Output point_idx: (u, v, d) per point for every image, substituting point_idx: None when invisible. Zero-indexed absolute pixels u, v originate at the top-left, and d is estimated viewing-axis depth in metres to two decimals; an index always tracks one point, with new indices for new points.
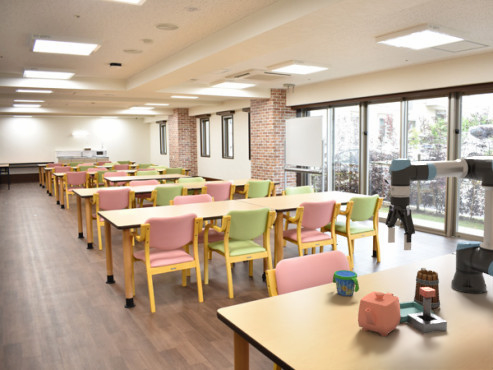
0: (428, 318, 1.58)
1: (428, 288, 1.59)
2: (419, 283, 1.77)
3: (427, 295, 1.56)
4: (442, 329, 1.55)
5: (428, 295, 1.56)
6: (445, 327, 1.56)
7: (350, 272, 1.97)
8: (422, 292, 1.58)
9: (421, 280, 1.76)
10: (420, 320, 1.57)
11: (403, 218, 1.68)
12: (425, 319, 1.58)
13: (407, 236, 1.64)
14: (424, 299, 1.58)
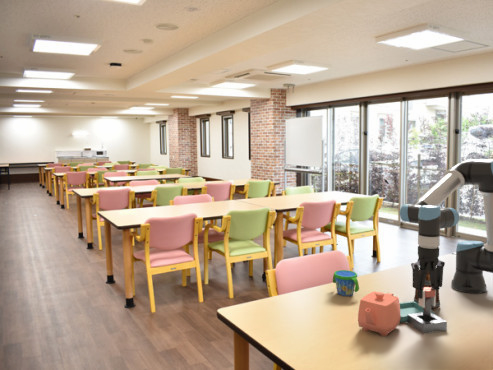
0: (428, 318, 1.58)
1: (428, 288, 1.59)
2: None
3: (426, 295, 1.56)
4: (442, 329, 1.55)
5: (428, 295, 1.56)
6: (445, 327, 1.56)
7: (350, 272, 1.97)
8: None
9: None
10: (420, 320, 1.57)
11: (421, 271, 1.57)
12: (425, 319, 1.58)
13: None
14: None
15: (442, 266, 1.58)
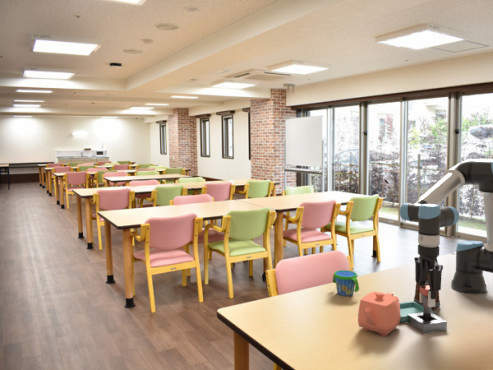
0: None
1: (425, 287, 1.59)
2: None
3: None
4: (442, 329, 1.55)
5: None
6: (445, 327, 1.56)
7: (350, 272, 1.97)
8: None
9: None
10: (420, 320, 1.57)
11: (431, 272, 1.55)
12: (430, 317, 1.58)
13: (432, 292, 1.55)
14: None
15: None
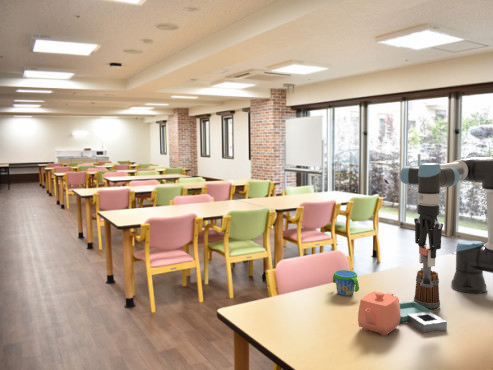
0: None
1: (425, 247, 1.58)
2: (419, 283, 1.77)
3: None
4: (442, 329, 1.55)
5: None
6: (445, 327, 1.56)
7: (350, 272, 1.97)
8: None
9: (421, 280, 1.76)
10: (420, 320, 1.57)
11: (431, 231, 1.54)
12: (430, 278, 1.57)
13: (431, 252, 1.54)
14: None
15: None
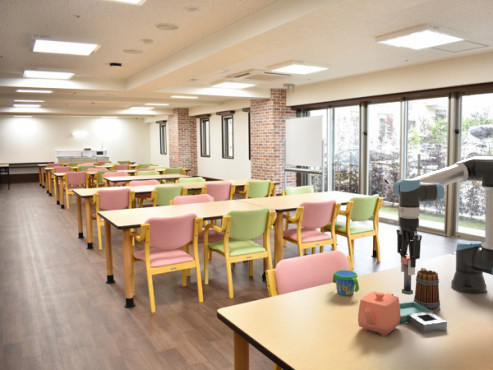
0: None
1: (406, 256, 1.69)
2: (419, 283, 1.77)
3: None
4: (442, 329, 1.55)
5: None
6: (445, 327, 1.56)
7: (350, 272, 1.97)
8: None
9: (421, 280, 1.76)
10: (420, 320, 1.57)
11: (411, 242, 1.66)
12: (410, 285, 1.69)
13: (411, 261, 1.65)
14: None
15: None
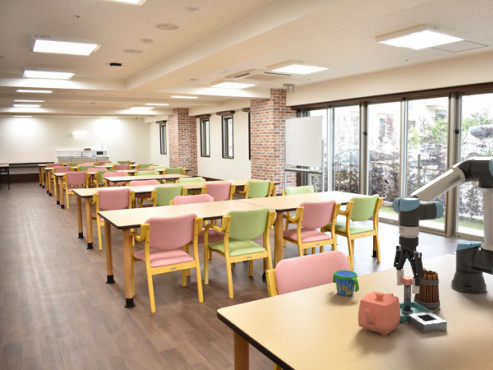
0: None
1: (405, 277, 1.70)
2: None
3: None
4: (442, 329, 1.55)
5: None
6: (445, 327, 1.56)
7: (350, 272, 1.97)
8: (410, 282, 1.68)
9: (421, 280, 1.76)
10: (420, 320, 1.57)
11: (412, 260, 1.65)
12: (410, 305, 1.70)
13: (416, 280, 1.64)
14: (409, 287, 1.69)
15: None
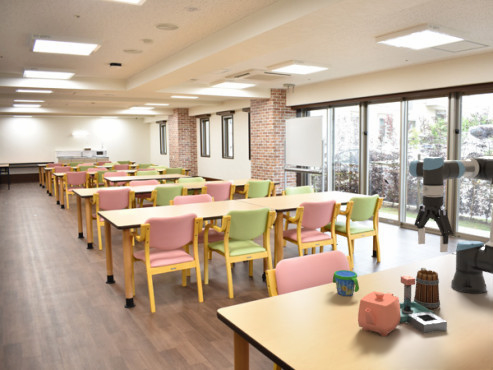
0: None
1: (406, 277, 1.70)
2: (419, 283, 1.77)
3: None
4: (442, 329, 1.55)
5: None
6: (445, 327, 1.56)
7: (350, 272, 1.97)
8: (410, 282, 1.68)
9: (421, 280, 1.76)
10: (420, 320, 1.57)
11: (438, 219, 1.61)
12: (410, 305, 1.70)
13: (444, 237, 1.58)
14: (410, 287, 1.69)
15: None
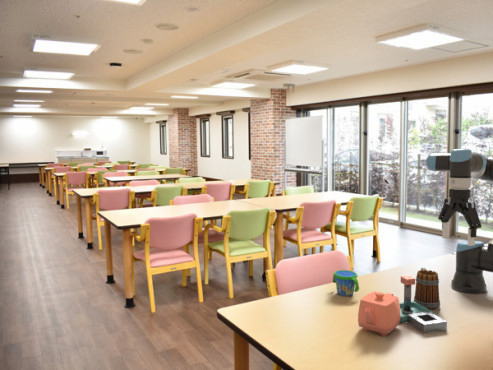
0: None
1: (406, 277, 1.70)
2: (419, 283, 1.77)
3: None
4: (442, 329, 1.55)
5: None
6: (445, 327, 1.56)
7: (350, 272, 1.97)
8: (410, 282, 1.68)
9: (421, 280, 1.76)
10: (420, 320, 1.57)
11: (465, 212, 1.58)
12: (410, 305, 1.70)
13: (472, 231, 1.55)
14: (410, 287, 1.69)
15: None
